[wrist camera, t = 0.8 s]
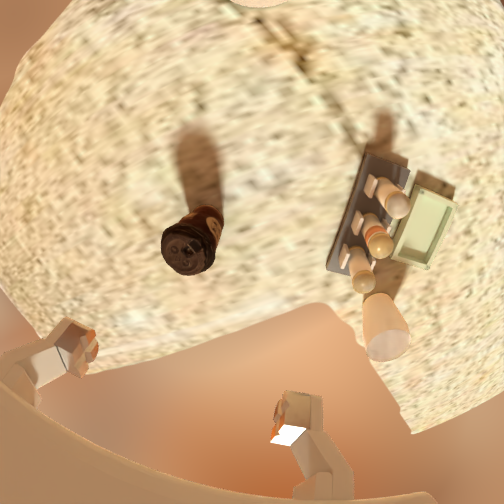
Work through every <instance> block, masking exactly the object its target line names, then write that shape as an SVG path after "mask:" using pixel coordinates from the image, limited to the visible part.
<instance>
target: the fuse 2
mask: <svg viewBox="0 0 504 504" xmlns="http://www.w3.org/2000/svg"><path fill="white" fill-rule="evenodd" d="M376 179H377V180H378V182H377V185H376V188H375V191H374V193H373V195H374V196H375V197H376V198H377V199H378V201H379V202H380V203H381V204H382V206H383V207H384V208H385V210H386V211H387V213H388V214H389V215H390V216H391V217H392V218H395V219H401V218H403V217H405V216H406V215H407V214H408V213H409V211H410V208H411V202H410V199H409V198H408V197H407V196H406V195H405V194H404V193H403V192H402V191H400V190H399V189H398V188H397V187H396V186H395V185H394V184H393V183H392V182H391V181H390V180H389V179H387V178H386V177H377V178H376Z"/></svg>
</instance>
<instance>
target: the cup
mask: <svg viewBox="0 0 504 504" xmlns="http://www.w3.org/2000/svg"><path fill="white" fill-rule="evenodd" d="M362 314H363V343H364V346H365V349H366V353H367V355H368V357H369V358H370V359H372V360H374V361H378V362H385V361H390V360H393V359H396V358H398V357H399V356H401V355H402V354H404V353H405V352H406V351H407V349H408V348H409V346H410V344H411V336H410V333H409V329H408V325H407V323H406V321H405V320H404V318H403V316H402V315H401V313H400V312H399V310H398V308H397V307H396V305H395V304H394V302H393V301H392V299H391V297H390V296H389V295H387V294H385V293H376V294H373V295H371V296H369V297H368V298H367V299H366V300H365V301H364V303H363V306H362Z"/></svg>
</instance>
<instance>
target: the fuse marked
mask: <svg viewBox="0 0 504 504" xmlns="http://www.w3.org/2000/svg"><path fill="white" fill-rule="evenodd" d="M362 216H363V218H364V221H363V223H362V226H361V228H360V230H361V232H362V234H363V236H364V239H365V242H366V244H367V246H368V248H369V251H370V253H371V255H372V256H373V257H375V258H378V259H382V258H385V257H387V256H389V255H390V254H391V252H392V250H393V246H394V245H393V241H392V239H391V238H390V236H389V234H388V233H387V231H386V230H385V228H384V227H383V225H382V224H381V222H380V221H379V219H378V217H377V216H376V215H375V214H374V213H371V212H367V213H364V214H363V215H362Z"/></svg>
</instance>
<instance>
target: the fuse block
mask: <svg viewBox="0 0 504 504" xmlns="http://www.w3.org/2000/svg"><path fill="white" fill-rule="evenodd" d="M409 173H410V170H409V169H407V168H405V167H403V166H400V165H398V164H395V163H393V162H390V161H387V160H385V159H382V158H379V157H377V156H374V155H371V154H368V153H365V156H364V159H363V162H362V166H361V169H360V172H359V175H358V178H357V181H356V184H355V187H354V190H353V193H352V196H351V199H350V202H349V205H348V208H347V211H346V214H345V216H344V219H343V222H342V225H341V227H340V230H339V233H338V236H337V238H336V241H335V244H334V246H333V249H332V251H331V254H330V257H329V259H328V262H327V264H326V270H328V271H332V272H336V273H340V274H344V275H348V276H351V275H350V271H349V267H348V264H347V260H348V258H349V256H350V252H349V248H350V247H352V246H361V247H362V248H363V249H364V251H365V253H366V256H367V259H368V261H369V264H370V267H371V269H372V270H373V268H374V266H375V264H376V259H375V257H373V256H372V255H371V253H370V251H369V248H368V246H367V244H366V242H365V239H364V236H363V234H362V232H361V230H360V228H361V226H362V223H363V221H364V218H363V216H362V215H363V214H364V213H367V212H371V213H374V214H375V215H376V216H377V217H378V219H379V221H380V222H381V224H382V225H383V227H384V228H385V230H386V231H387V233H388V234H389V232H390V230H391V226H390V224H391V221H392V219H393V218H392V217H391V216H390V215H389V214H388V213H387V211H386V210H385V208H384V207H383V206H382V204H381V203H380V202H379V201H378V199H377V198H376V197H375V196H374V195H373V193H374V191H375V188H376V185H377V182H378V180H377V179H376V178H377V177H386V178H387V179H389V180H390V181H391V182H392V183H393V184H394V185H395V186H396V187H397V188H398V189H399V190H400V191H402V192H403V193H404V194H405V192H406V190H405V189H404V187H405V185H406V182H407V179H408V176H409Z"/></svg>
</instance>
